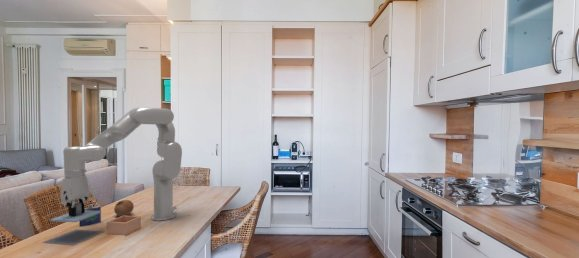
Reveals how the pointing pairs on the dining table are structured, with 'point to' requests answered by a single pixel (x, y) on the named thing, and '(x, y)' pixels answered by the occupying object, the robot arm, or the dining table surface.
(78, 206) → the lid
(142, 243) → the dining table surface
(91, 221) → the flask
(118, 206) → the coconut
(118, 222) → the open cube shelf
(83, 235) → the mat
